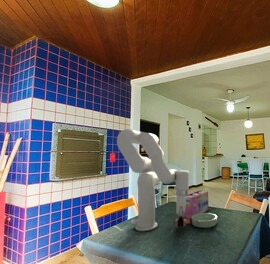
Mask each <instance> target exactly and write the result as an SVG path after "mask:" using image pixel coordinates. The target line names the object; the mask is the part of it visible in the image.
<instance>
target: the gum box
mask: <svg viewBox="0 0 270 264" xmlns="http://www.w3.org/2000/svg"><path fill="white" fill-rule="evenodd" d="M209 209H210V208H209V190H208V191H202V190H196V191H195V192H192V193H188V195H187V196H186V207H185V213H183V217H184V218H190V220H192V216H193V215H194V214H198V213H207V212H208V211H209Z"/></svg>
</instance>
